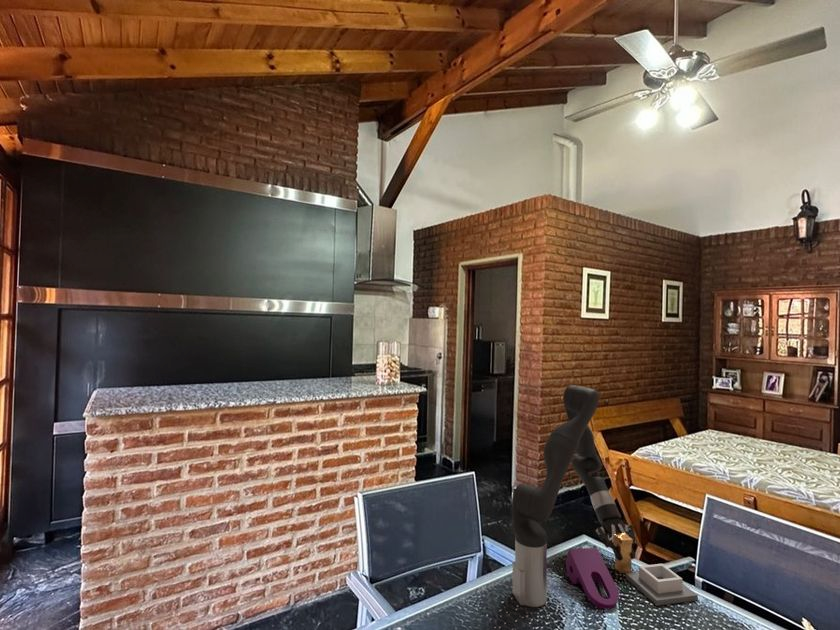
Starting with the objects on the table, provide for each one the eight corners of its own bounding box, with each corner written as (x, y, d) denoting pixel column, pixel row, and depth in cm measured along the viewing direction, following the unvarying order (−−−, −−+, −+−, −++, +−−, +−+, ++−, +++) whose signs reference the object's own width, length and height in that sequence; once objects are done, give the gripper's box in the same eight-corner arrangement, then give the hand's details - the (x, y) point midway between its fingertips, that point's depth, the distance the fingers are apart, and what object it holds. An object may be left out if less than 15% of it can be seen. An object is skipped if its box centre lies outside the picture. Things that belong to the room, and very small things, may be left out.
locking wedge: (622, 574, 143) (622, 540, 143) (613, 567, 147) (613, 534, 147) (632, 573, 143) (632, 539, 144) (624, 566, 148) (624, 533, 148)
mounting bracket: (617, 621, 129) (591, 564, 145) (625, 603, 125) (596, 547, 142) (587, 623, 128) (564, 566, 144) (593, 605, 124) (569, 548, 141)
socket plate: (656, 605, 127) (656, 588, 127) (625, 577, 141) (625, 562, 141) (697, 600, 130) (697, 583, 130) (663, 573, 144) (663, 558, 144)
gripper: (591, 504, 152) (612, 557, 139) (627, 501, 154) (651, 553, 142) (582, 512, 157) (603, 565, 145) (617, 509, 159) (640, 560, 147)
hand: (627, 559), depth 143 cm, fingers closed on locking wedge, 4 cm apart
